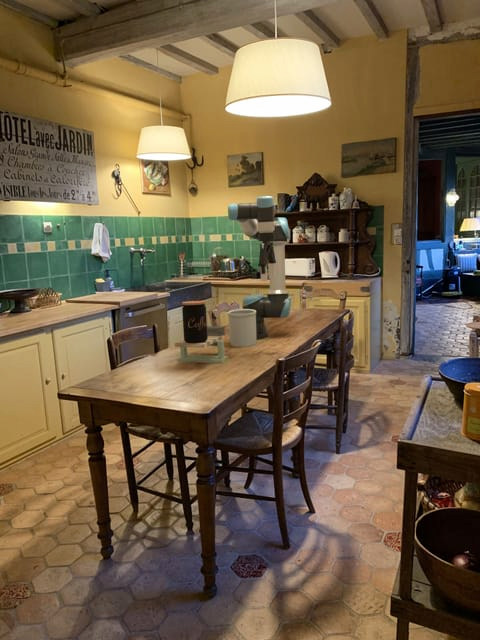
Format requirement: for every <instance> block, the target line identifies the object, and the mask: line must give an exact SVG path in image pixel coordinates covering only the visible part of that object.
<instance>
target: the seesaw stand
mask: <svg viewBox="0 0 480 640" xmlns="http://www.w3.org/2000/svg"><path fill="white" fill-rule="evenodd" d="M182 340H184V338H181V339H179V342H180V341H182ZM216 347H217V355H213V354H212V355H211V354H210V355H209V354H188V347H179V350H180V357H178V358H177V362H188V363H189V362H191V363H206V364H207V363H210V364H211V363H214V364H222V363H223V362H225V361H226V360H228V355H225V343H224V339H221V340H219V341H217V346H216Z"/></svg>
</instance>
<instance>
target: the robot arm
mask: <svg viewBox="0 0 480 640" xmlns="http://www.w3.org/2000/svg"><path fill="white" fill-rule="evenodd" d="M276 214H277V207H276V205H275V202H274V197H273V196H272V195H271V196H270V195H269V196H268V195H266V196H265V195H264V196H259V197H257V198H256V202H246V203H245V202H244V203H243V202H241V203H231V204H229V205H228V207H227V215H228V219H229V220H230V221H236V222H238V224H239V226H240V229H241V232H242V233H243V234H244V235H245V236H246V237H248V238H249V239H252V240H257V241H258V242H262V243H259V259H258V266H257V267H260V268H259V269H260V281H261V282H267V281H268V278H269V291H268V292H267V294H266V296H264V294H263V293H257V294H250V295H247V296H245V297H243V298H242V305H241V306H242V309H253V310H256V340H263V339H266V338H268V336H269V332H268V330H267V326H266V324H265V319H282V318H283V319H285V318H288V317H289V316H290V313H291V305H292V297H291V295H289V292H288V291H287V290H286V289H287V288H286V252H285V249H286V248H285V246H286V245H287V244H288V240H291V235H290V228H289V224H288V219H287V218H286V217H275V215H276ZM267 261H268V265H267Z"/></svg>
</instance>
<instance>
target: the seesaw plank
mask: <svg viewBox="0 0 480 640" xmlns="http://www.w3.org/2000/svg"><path fill="white" fill-rule="evenodd" d="M207 335H208V339H207V340H206V342H202V343H186V342H185V340H182V341H180V340H179V341H178V342H175V343H174V347H175V348H180V347H187V348H196V349H198V348H200V349H201V348H204V349H205V348H207V347H211V346H212V347H218V346H217V341H219V340H224V339H225V338H226V327H225V326H222V325H221V326H215V325H207Z"/></svg>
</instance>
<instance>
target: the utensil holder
mask: <svg viewBox="0 0 480 640" xmlns="http://www.w3.org/2000/svg"><path fill="white" fill-rule="evenodd" d="M227 317H228V331H229V332H228V333H229V342H230V345H231V346H232V347H235V348H250V347H252V346H255V345H256V344H257V339H256V310H253V309H243V308H238V309H237V308H236V309H232V310H229V311H228V312H227Z"/></svg>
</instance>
